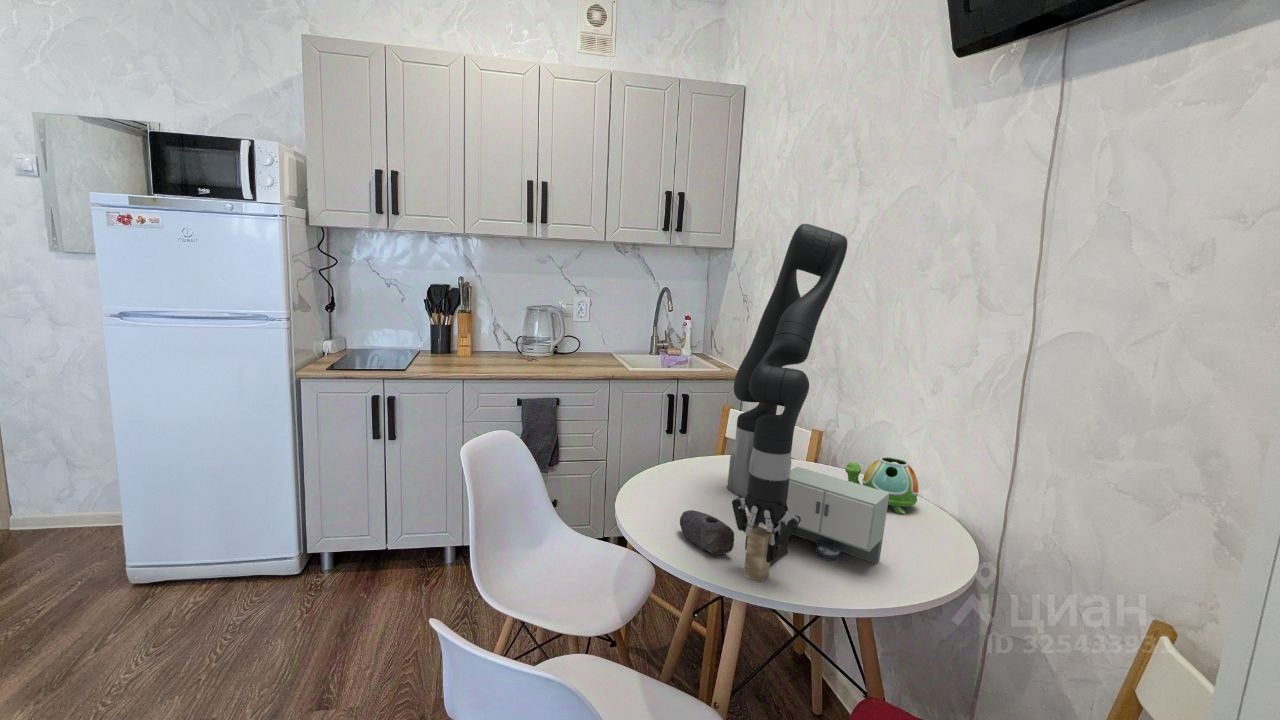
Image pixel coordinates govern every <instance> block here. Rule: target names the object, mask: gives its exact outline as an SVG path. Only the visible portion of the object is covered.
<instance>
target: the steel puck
mask: <svg viewBox="0 0 1280 720" xmlns="http://www.w3.org/2000/svg"><path fill="white" fill-rule="evenodd" d="M815 546H816V547H815V555H816V556H817V557H819V558H821V559H823V560H826V561H839V560H840V559H841V555H842V552H841V549H842V546H841V545H840V544H839V543H838V542H836V541H833V540H828V539H820V540H818V541H817V543H816V545H815Z"/></svg>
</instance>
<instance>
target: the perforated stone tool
mask: <svg viewBox="0 0 1280 720" xmlns="http://www.w3.org/2000/svg"><path fill="white" fill-rule="evenodd" d="M679 526H680V528H681V531H682V533H683V535H685V537H686V538H687V539H688V540H690V541H691V542H692V543H693V544H694V545H696V546H697V547H698V548H699V549H701V550H703V551H707V552H709V553H710V554H711V555H713V556H718V555H726V554H728V553H730V552H731V551H732V550H733V548H734V545H735V532H734V530H733V529H732V528H731V527H730V526H729V525H728V524H726V523H725V522H723V521H721V519H718V518H717V517H714V516H712V515H710V514H708V513H706V512H705V513H704V512H701V511H699V510H693V509H692V510H685V511H683V512H682V514H681V516H680V517H679Z"/></svg>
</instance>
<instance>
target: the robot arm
mask: <svg viewBox="0 0 1280 720" xmlns="http://www.w3.org/2000/svg"><path fill="white" fill-rule="evenodd" d="M847 251H848V239H847V237H846V236H845V235H843V234H841V233H838V232H835V231H833V230H829V229H825V228H823V227H819V226H817V225H812V224H809V223H801V224H800V225H798V227H797V228H796V229H795V231H794V233H793V235H792V237H791V239H790V242H789V244H788V248H787V250H786V253H785V256H784V259H783V262H782V265H781V268H780V271H779V275H778V277H777V281H776V283H775V285H774V288H773V291H772V294H771V296H770V298H769V300H768V302H767V303H766V307H765V308H764V312H763V313H762V316H761V318H760V321H759V324H758V326H757V329H756V332H755V334H754V338H753V340H752V342H751V344H750V347H749V349H748V351H747V352H746V354H745V357H744V358H743V359H742V361H741V364H740V365H739V368H738V370H737V372H736V375H735V378H734V382H733V393H734V395H735V397H736V399H738V400H739V401H740V402H746V403H758V404H757V405H756V406H755V407H753V408H752V409H750V410H747V411H745V412H742V413H740V414H739V415H738V417H737V418H736V430H735V438H734V450H733V453H731V454H730V456H729V467H728V476H727V477H728V478H727V486H726V489H727V490H729V491H730V492H732V493H733V494H734V495H737V496H739V497H736V498H735V499H733V500H732V501H731V505H732V506H731V507H732V509H733V510H732V511H733V514H734V518H735V523H736V527H737V530H738V531H740V532H743V533H744V535H745V537H746V538H745V544H744V545H745V546H744V548H745V549H744V550H745V551H746V548H747V538H748V531H750V530H751V529H754V527H756V526H759V525H760V524H763V525H764V526H765V529H766V531H767V533H768V535H769V538H768V539H769V544H768V549H767V558H766V562H769V563H771V562H772V561H773V560H775V559H776V558H777V555H778V546H779V545H784V544H785V543H786V542H788V541H789V542H790V540H791V537H792V536H793V535H794V534H793V533H794V531H795V529H796V528H797V526H798V524H799V522H800V521H801V518H800V517H799V516H794V515H792V514H791V513H790V512H788V507H787V503H786V502H787V497H788V488H789V480H790V471H791V470H792V449H793V439H794V431H795V427H796V424H797V421H798V418H799V415H800V414H801V413H800V412H801V409H802V408H803V406H804V403H805V401H806V399H807V396H808V394H809V389H810V381H809V378H808V375H807V374H806V373H805V372H804V371H802V370H800V369H795V368H789V367H786V366H790V365H792V366H793V365H800V364H802V363H804V362H806V360H807V359H808V357H809V354H810V353H809V352H810V349H811V346H812V344H813V340H814V337H815V333H816V329H817V326H818V324H819V321H820V318H821V315H822V313H823V311H824V308H825V306H826V305H827V302H828V300H829V298H830V295H831V293H832V291H833V290H834V289H833V288H834V285H835V284H836V280H837V278H838V276H839V274H840V271H841V269H842V266H843V264H844V261H845V259H846V255H847ZM797 270H798V271H803V272H806V273H808V274H812V275H814V276H817V277H819V279H818V281H817V282H816V284H815V285H814V286H813V287H812V288H811V289H809V290H808V291H807V292H806V293H805V294H803V295H802V296H801V294H800V291H799V288H798V280H797V276H798V275H797ZM778 407H784V409H783V412H782V413H781V414H777V411H778ZM746 508H747V511H748V513H749V518H748V514H747V511H746ZM783 517H785V525H787V526H786V527H785V529H784V531H783V533H782V534H781V536H780V520H781V519H782V518H783Z"/></svg>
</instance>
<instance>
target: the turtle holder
mask: <svg viewBox="0 0 1280 720" xmlns="http://www.w3.org/2000/svg"><path fill="white" fill-rule="evenodd" d="M844 471H845V473H846V474H847V481H850V482H853V483H857V484H860V485H864V486H867V487H871V488H874V489H878V490H881V491H885V492H888V493H890V494H889V500H888V506H891V507H892V508H893V509H892V510H893V512H894V513H897V514H899V515H905V514H907V513H906V511H905V510H904V509H903V508H902V507H912V506H915V505H916V503H918V495H919V493H920V491H919V482H918V477H917V475H916V472H915V471H914V470H913V468H912V467H911V465H910V464H909V461H907V460H904V459H901V458H896V457H892V456H880V457H879V459H877V460H876V461H874V462H873V463H872V464H870V465H869V466H868V467H867V469H866V471H865V472H864V475H863V478H862V480H861V482H862V484H861V483H860V481H859V475H860V474H861V472H862V469H861V465H860V464H859V463H858V462H853V461H849V462H848V463H847V465H846V467H845V468H844Z"/></svg>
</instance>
